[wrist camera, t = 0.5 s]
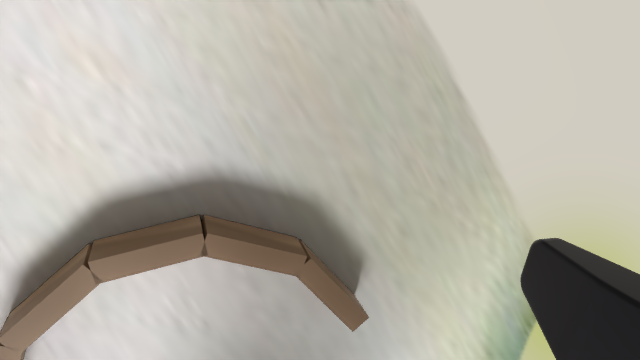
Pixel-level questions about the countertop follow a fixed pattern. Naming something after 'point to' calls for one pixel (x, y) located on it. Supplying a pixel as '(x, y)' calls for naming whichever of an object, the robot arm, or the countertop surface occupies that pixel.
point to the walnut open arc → (166, 249)
